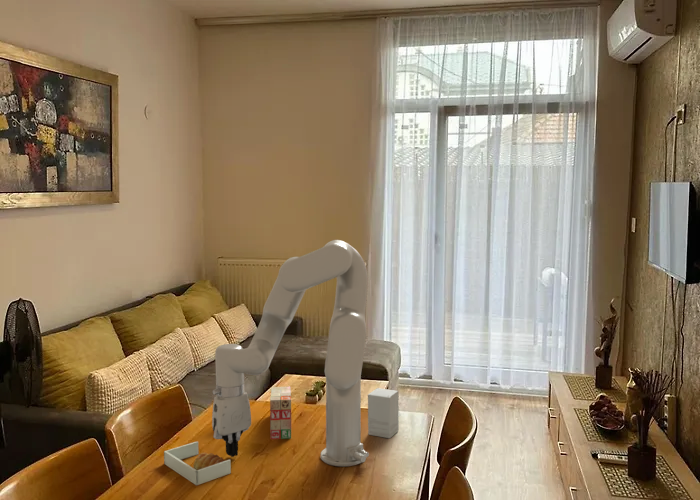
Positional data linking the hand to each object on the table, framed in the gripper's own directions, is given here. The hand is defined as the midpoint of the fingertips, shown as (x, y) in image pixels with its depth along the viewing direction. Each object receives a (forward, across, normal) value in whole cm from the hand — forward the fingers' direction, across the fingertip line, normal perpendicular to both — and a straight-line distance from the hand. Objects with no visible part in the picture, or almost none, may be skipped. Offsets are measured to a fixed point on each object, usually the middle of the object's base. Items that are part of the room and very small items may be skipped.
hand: (232, 454), depth 174 cm
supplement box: (+1, +43, -17) cm, 46 cm away
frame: (+1, -10, +1) cm, 11 cm away
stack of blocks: (+1, +24, +10) cm, 26 cm away
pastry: (+1, -8, -2) cm, 8 cm away
